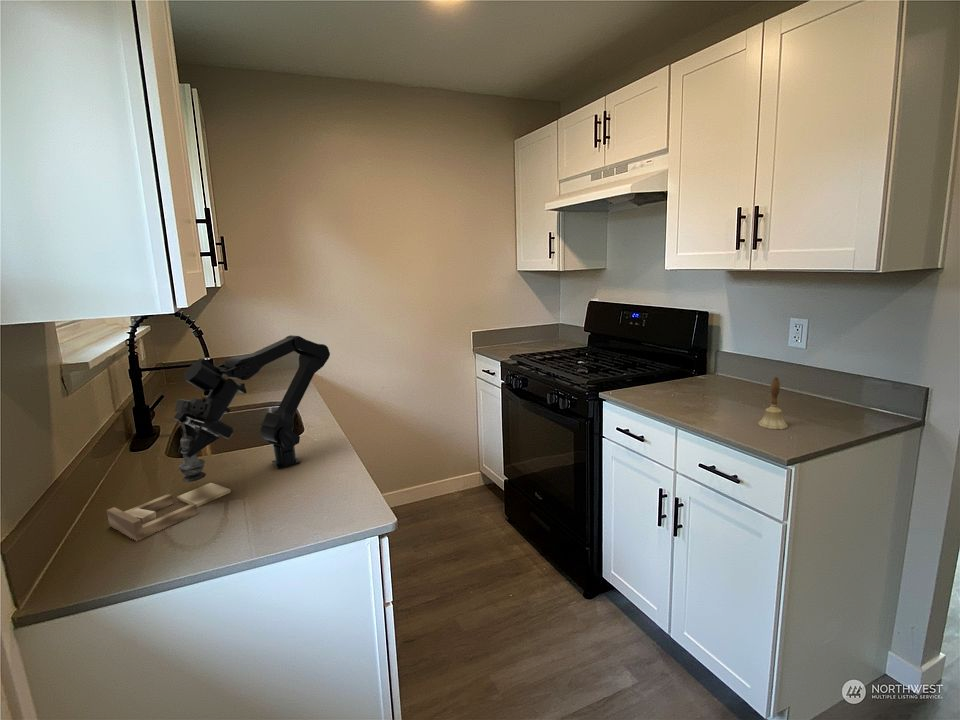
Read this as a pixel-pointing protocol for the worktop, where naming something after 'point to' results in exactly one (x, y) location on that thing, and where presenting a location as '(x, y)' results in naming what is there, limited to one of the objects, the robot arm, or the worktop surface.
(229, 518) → the worktop surface
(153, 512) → the offcut upper
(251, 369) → the robot arm
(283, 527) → the worktop surface
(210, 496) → the cork mat
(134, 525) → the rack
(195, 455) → the grey chess piece
